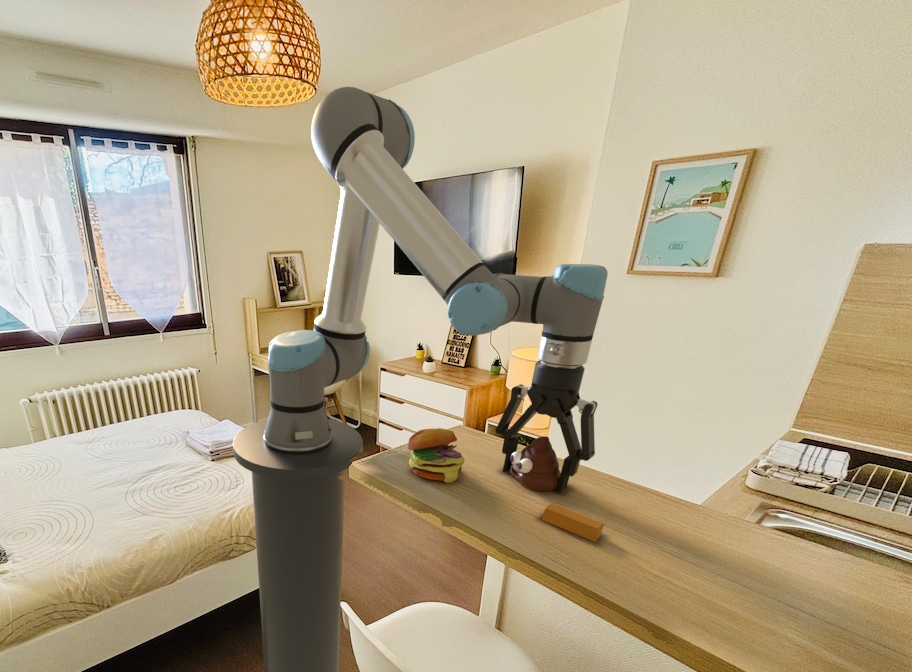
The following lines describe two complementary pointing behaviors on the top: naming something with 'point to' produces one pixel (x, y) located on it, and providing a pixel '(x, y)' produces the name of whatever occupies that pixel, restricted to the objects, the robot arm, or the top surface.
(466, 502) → the top surface
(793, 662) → the top surface
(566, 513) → the ochre stick
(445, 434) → the cheeseburger
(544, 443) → the poop emoji
